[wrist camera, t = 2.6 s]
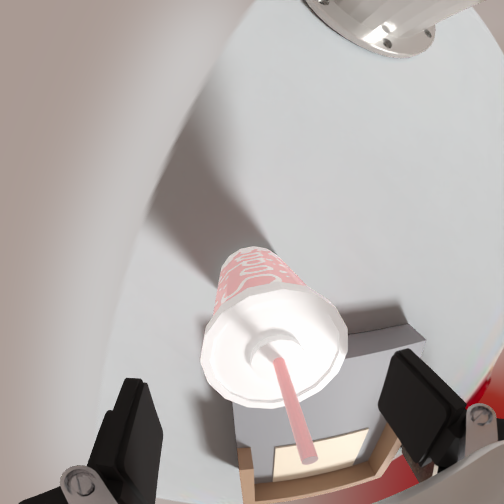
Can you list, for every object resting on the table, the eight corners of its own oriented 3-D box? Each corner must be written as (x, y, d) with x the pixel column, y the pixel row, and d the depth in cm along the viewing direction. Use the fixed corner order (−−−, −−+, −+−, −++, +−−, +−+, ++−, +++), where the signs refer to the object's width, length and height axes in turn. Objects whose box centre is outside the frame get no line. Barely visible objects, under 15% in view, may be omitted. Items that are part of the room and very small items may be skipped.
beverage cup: (299, 234, 19) (441, 358, 5) (293, 316, 20) (373, 480, 7) (206, 235, 18) (177, 393, 5) (209, 319, 20) (206, 506, 6)
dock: (228, 347, 21) (231, 397, 15) (408, 323, 22) (443, 355, 17) (239, 469, 26) (243, 505, 21) (365, 446, 27) (380, 476, 22)
